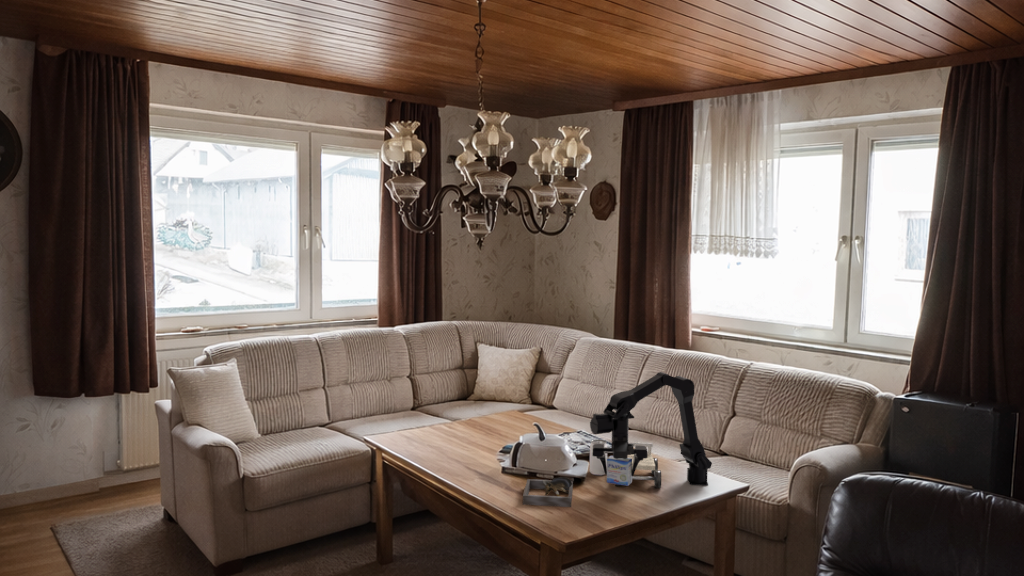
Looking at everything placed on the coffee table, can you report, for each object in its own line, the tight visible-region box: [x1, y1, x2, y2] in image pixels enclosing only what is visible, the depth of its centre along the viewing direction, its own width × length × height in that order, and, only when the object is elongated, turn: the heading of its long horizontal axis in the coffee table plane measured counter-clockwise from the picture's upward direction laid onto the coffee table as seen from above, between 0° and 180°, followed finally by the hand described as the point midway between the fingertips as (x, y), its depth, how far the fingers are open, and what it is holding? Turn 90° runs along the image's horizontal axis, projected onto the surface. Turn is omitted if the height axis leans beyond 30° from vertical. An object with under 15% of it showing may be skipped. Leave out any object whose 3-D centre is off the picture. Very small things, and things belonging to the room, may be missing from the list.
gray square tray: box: [522, 478, 574, 508], centre depth 243 cm, size 16×16×3 cm
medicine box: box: [606, 455, 633, 487], centre depth 247 cm, size 8×4×9 cm, turn 63°
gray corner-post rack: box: [614, 441, 662, 488], centre depth 261 cm, size 16×20×12 cm
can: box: [589, 439, 608, 476], centre depth 268 cm, size 6×6×12 cm
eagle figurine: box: [542, 476, 572, 496], centre depth 246 cm, size 8×7×9 cm
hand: (619, 475), depth 248 cm, fingers closed on medicine box, 9 cm apart
